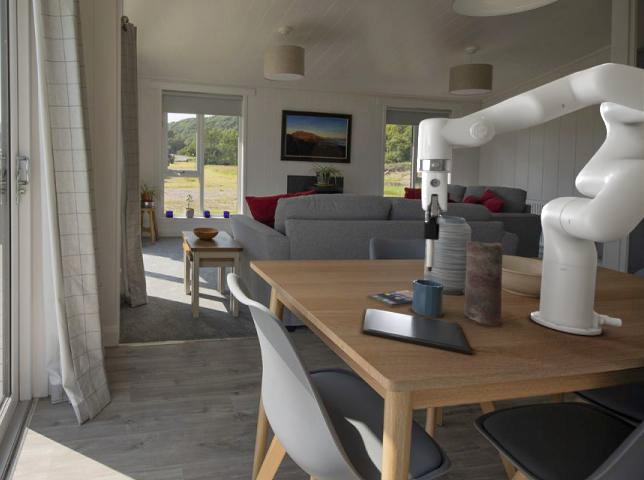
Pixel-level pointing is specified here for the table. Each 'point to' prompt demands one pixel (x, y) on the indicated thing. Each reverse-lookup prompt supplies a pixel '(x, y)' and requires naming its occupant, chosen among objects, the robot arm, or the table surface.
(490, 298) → the candle
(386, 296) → the smartphone
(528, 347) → the table surface
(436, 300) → the pen cup
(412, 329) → the tablet
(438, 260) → the vase
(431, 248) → the stylus
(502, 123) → the robot arm
